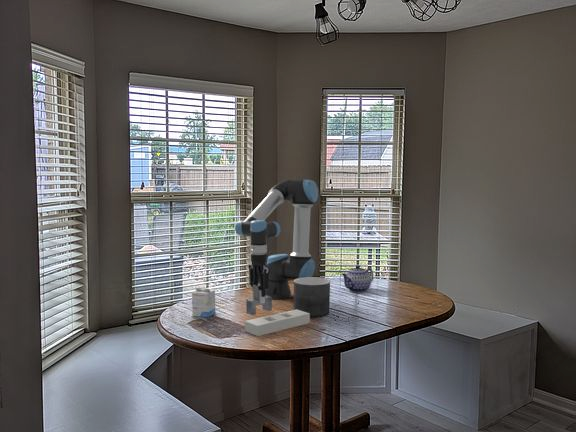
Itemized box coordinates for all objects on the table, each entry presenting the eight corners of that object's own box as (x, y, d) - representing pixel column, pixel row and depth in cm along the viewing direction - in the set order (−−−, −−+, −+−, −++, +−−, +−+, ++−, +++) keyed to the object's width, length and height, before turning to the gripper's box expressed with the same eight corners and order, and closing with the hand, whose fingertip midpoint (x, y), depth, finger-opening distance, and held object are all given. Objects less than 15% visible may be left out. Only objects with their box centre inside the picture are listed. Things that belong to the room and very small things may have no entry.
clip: (251, 315, 242) (251, 287, 241) (246, 313, 245) (246, 286, 244) (271, 310, 250) (271, 283, 248) (266, 308, 253) (266, 282, 251)
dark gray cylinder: (310, 305, 270) (311, 275, 268) (337, 312, 257) (337, 281, 256) (286, 312, 257) (286, 280, 256) (312, 319, 245) (312, 286, 243)
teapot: (364, 285, 318) (364, 261, 317) (382, 290, 305) (383, 265, 304) (332, 290, 304) (333, 265, 302) (350, 296, 291) (350, 269, 290)
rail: (257, 336, 220) (257, 325, 219) (244, 331, 227) (244, 321, 226) (309, 323, 239) (309, 313, 239) (296, 318, 246) (296, 309, 246)
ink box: (215, 313, 254) (215, 286, 253) (207, 317, 247) (207, 289, 245) (200, 311, 257) (200, 284, 256) (191, 316, 249) (191, 288, 248)
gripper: (241, 251, 248) (242, 299, 251) (263, 256, 236) (264, 307, 238) (254, 250, 253) (254, 297, 256) (276, 254, 240) (276, 304, 243)
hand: (259, 301), depth 247 cm, fingers closed on clip, 4 cm apart
